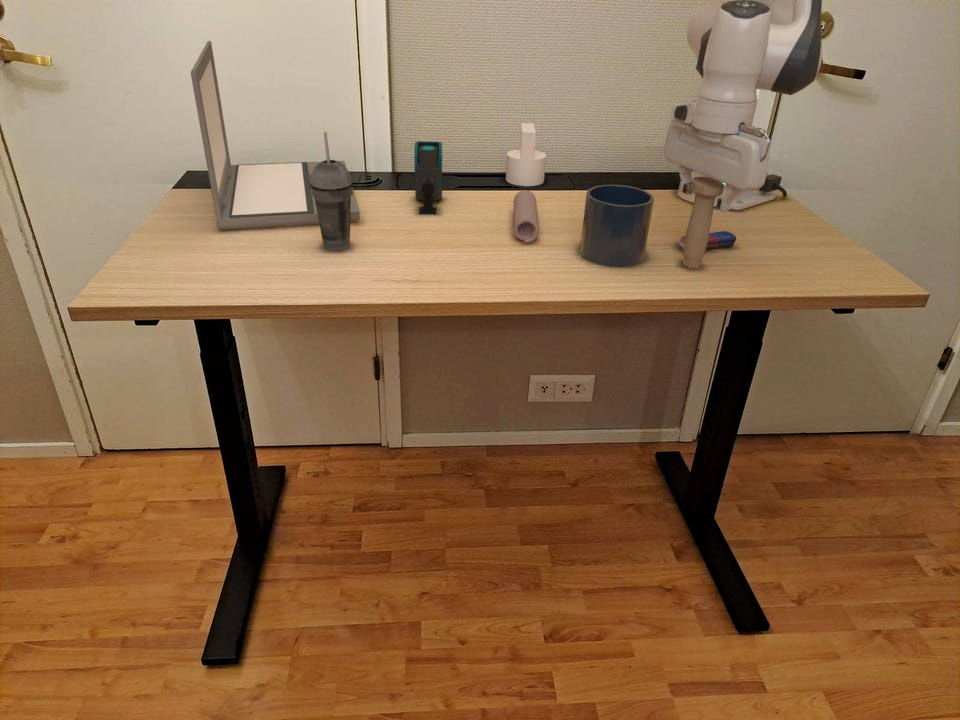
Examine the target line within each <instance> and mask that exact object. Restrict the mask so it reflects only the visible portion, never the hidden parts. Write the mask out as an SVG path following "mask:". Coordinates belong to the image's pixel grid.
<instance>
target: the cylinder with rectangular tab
mask: <svg viewBox="0 0 960 720" xmlns="http://www.w3.org/2000/svg"><path fill="white" fill-rule="evenodd" d="M536 137H537V131H536V126H535V123H533V122H532V123H531V122H521V123H520V133H519V148H518V149H512V150H509V151H508V152H507V153H506V164H505V165H506V166H505V181H506V182H507V183H509V184H510V185H513V186H519V187H535V186H541V185H543V184H544V182H545V171H546V160H547V155H546V153H545V152H542V151H540V150H536V139H537V138H536Z"/></svg>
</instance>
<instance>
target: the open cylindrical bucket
mask: <svg viewBox="0 0 960 720" xmlns="http://www.w3.org/2000/svg"><path fill="white" fill-rule="evenodd" d="M654 202H655V196H654V195H653V194H652V193H650V192H649V191H647V190H645V189H643V188H638V187H634V186H631V185H624V184H602V185H595V186H593V187H590V188H588V189H587V190H586V195H585V202H584V211H583V219H582V220H583V221H582V229H581V230H582V231H581V238H580V247H579V253H580V255H581V256H582V257H583V258H584V259H586V260H587V261H589V262H592V263H594V264H596V265H597V264H598V265H602V266H607V267H615V268H616V267H621V268H622V267H623V268H624V267H632V266H634V265H637V264H640V263H642V261H643V260H644V258H645V255H646V248H647V243H648V237H649V231H650V225H651V220H652V213H653V208H654Z"/></svg>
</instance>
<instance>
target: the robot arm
mask: <svg viewBox="0 0 960 720" xmlns="http://www.w3.org/2000/svg"><path fill="white" fill-rule="evenodd" d="M822 7H823V0H719V1H711V2H707V3H703V4H701V5H700V6H698V7H697V8H696V10H694V12H693V13H692V15H691V16H690V18H689V20H688V23H687V27H686V40H687V45H688V46H689V48H690V49H691V51H692V52H693V54H694V56H695V58H696V60H697V61H696V62H697V63H696V66H695V70H696V72H697V73H698V74H699V75H700V77H701V83H700V87H699V88H698V90H697V95H696V100H692V101H691V102H685V103H679V104H674V105H672V107H671V111H670V118H671V119H672V120H671V121H670V123H669V125H668V126H667V131H666V136H665V141H664V147H663V154H664V156H665V160H666V161H667V162H670V163H672V164H676V165H677V166H679V168H678V173H679V179H680V181H679V184H678V189H677V191H676V194H677V196H678V197H679V198H681V199H682V200H685V201H686V202H690V203H693V204H694V200H695V193H693V192H692V189H691V185H692V180H693V178H694V177H710V178H712V179H715V180H717V181H720V182H722V183H723V184H724V189H723V193H722V195H720V196H718V197H716V198H715V202H714V208H716V209H717V210H719V211H722V212H728V211H730V210H734V211H741V210H745V209H747V208H748V209H749V208H751V207H754V206H757V205H760V204H763V203H766V202H769V201H773V200H775V199H776V197H777V194H776V193H775V192H776V191H779V192H781V194H782V197H783V198H787V197H788V192H787V190H786V189H785V188H784V187H783V186H781V182H782V179H783V176H781V175H778V174H773V173H771V174H769V171H768V167H769V160H770V158H769V157H770V148H771V145H772V144H771V143H772V142H771V139H770V137H769V135H768V134H767V132H766V129H764V128H760V127H755V126H753V123H754V118H755V113H756V109H757V105H758V95H757V90H765V91H770V92H773V93H778V94H783V95H788V96H793V95H795V94H797V93H799V92H800V91H801V92H802V90H804V89H805V88H807V87H809V86H810V85H811V84H812V83H814V82H815V80H816V77H817V75H818V74H819V71H820V68H821V66H822V60H823V42H822V39H823V38H822V11H823V10H822V9H823V8H822Z"/></svg>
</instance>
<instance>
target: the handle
mask: <svg viewBox="0 0 960 720" xmlns="http://www.w3.org/2000/svg"><path fill="white" fill-rule="evenodd" d="M691 189H692V192H693V193H695V200H694V203H693V204H692V208H691V212H690V215H689V220H688V223H687V227H686V231H685V235H684V236H685V241H684V248H683V250H682V256H683V257H682V262H681V264H682V266H683V267H686V268H689V269H699V268H700V266H701V264H702V261H703V258H704V256H705V253H706V250H707V249H706V247H707V243H708V239H709V233H711V226H712V219H713V214H714V208H715V207H714V202H715V198H716V197H718V196H720V195H722V193H723V189H724V184H723V183H722V182H720V181H717V180H715V179H712V178H710V177H694V178H693V180H692V185H691Z"/></svg>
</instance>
